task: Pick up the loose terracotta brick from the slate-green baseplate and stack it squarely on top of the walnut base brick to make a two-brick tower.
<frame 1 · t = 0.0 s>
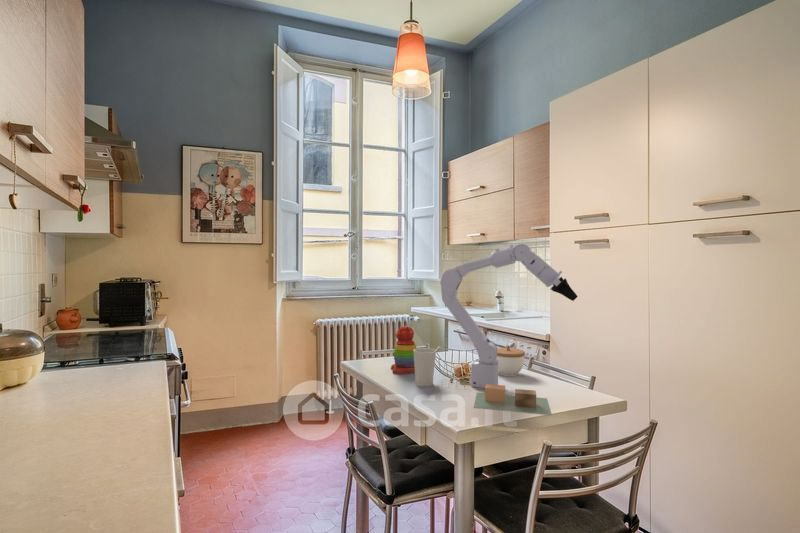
hand: (573, 297, 151), 32 cm above the table, tool tilted 50°, fingers open, 7 cm apart
baseplate: (511, 405, 139), on the table
lidded bowl: (507, 374, 178), on the table
walnut base brick: (525, 405, 137), point 1 cm above the table, touching baseplate
terracotta brick: (495, 399, 142), point 1 cm above the table, touching baseplate
stacking bear: (404, 371, 180), on the table
cup: (424, 384, 161), on the table
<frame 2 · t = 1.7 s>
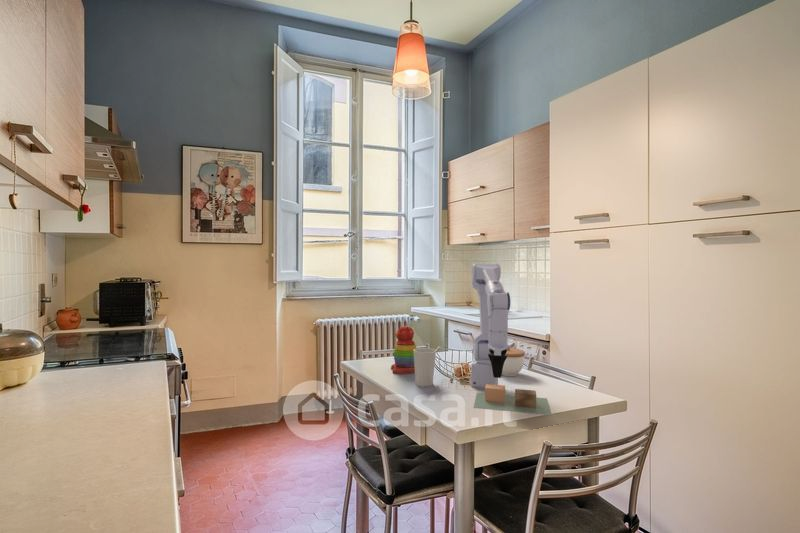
hand: (497, 374, 141), 9 cm above the table, tool pointing down, fingers open, 7 cm apart
nothing on the table moved.
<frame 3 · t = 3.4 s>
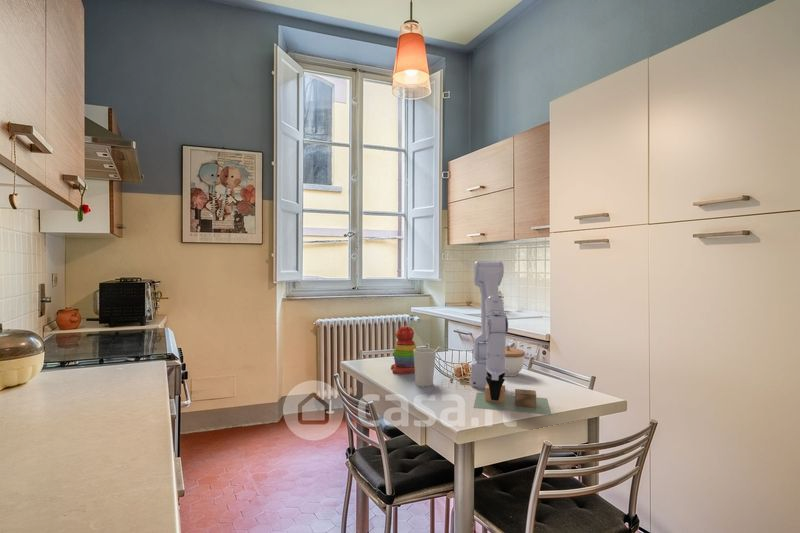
hand: (495, 397, 142), 1 cm above the table, tool pointing down, fingers closed on terracotta brick, 4 cm apart
terracotta brick: (495, 399, 142), point 1 cm above the table, touching baseplate, gripper
everything else where it was.
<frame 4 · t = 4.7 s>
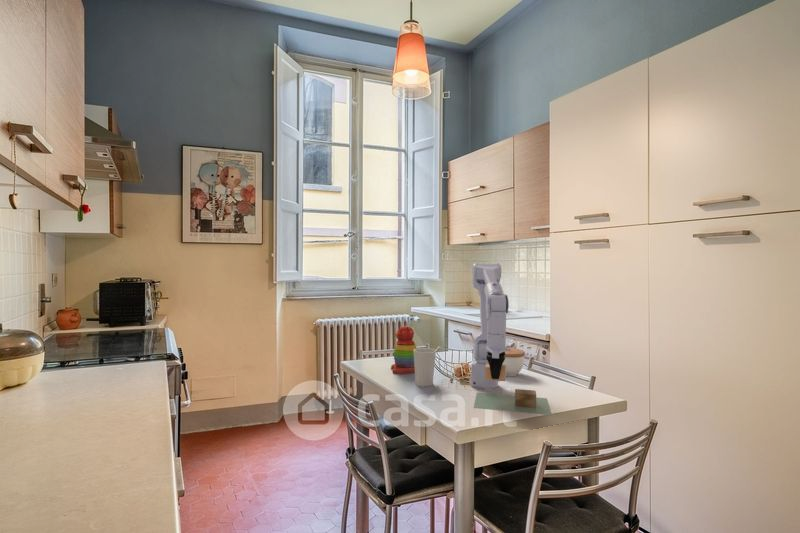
hand: (495, 376, 142), 8 cm above the table, tool pointing down, fingers closed on terracotta brick, 4 cm apart
terracotta brick: (495, 378, 142), point 7 cm above the table, touching gripper
everything else where it was.
when the fingers open (6 cm above the table, at t = 6.4 s): terracotta brick stays where it is, resting on walnut base brick.
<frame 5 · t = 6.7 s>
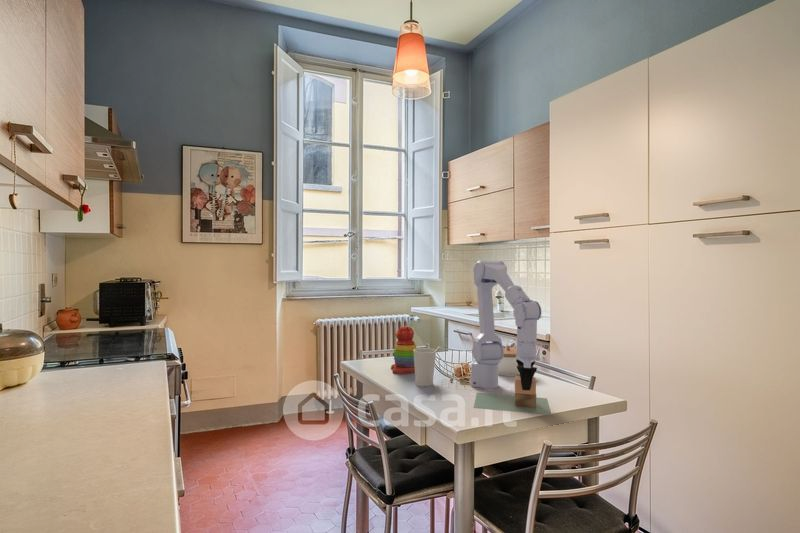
hand: (525, 386, 137), 6 cm above the table, tool pointing down, fingers open, 7 cm apart
walnut base brick: (525, 405, 137), point 1 cm above the table, touching baseplate, terracotta brick
terracotta brick: (525, 391, 137), point 5 cm above the table, touching walnut base brick
everything else where it was.
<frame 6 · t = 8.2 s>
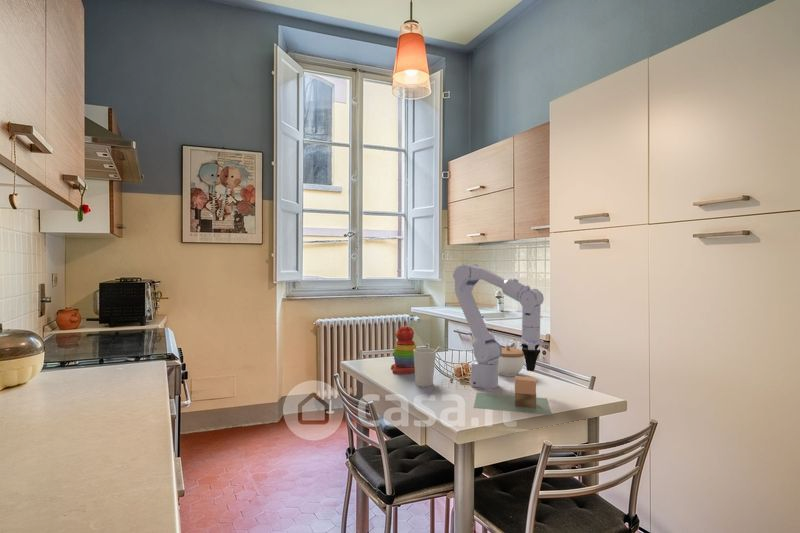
hand: (530, 368, 148), 9 cm above the table, tool pointing down, fingers open, 7 cm apart
nothing on the table moved.
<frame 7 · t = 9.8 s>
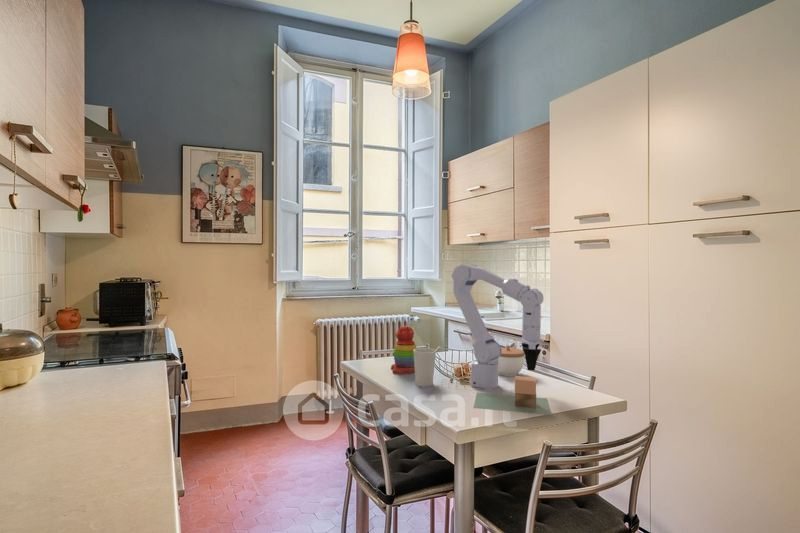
hand: (530, 367, 149), 9 cm above the table, tool pointing down, fingers open, 7 cm apart
nothing on the table moved.
at the end: terracotta brick 0.2 cm off-centre on the walnut base brick, point 4.0 cm above the walnut base brick's base; terracotta brick tilted 0°; terracotta brick touching walnut base brick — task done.
